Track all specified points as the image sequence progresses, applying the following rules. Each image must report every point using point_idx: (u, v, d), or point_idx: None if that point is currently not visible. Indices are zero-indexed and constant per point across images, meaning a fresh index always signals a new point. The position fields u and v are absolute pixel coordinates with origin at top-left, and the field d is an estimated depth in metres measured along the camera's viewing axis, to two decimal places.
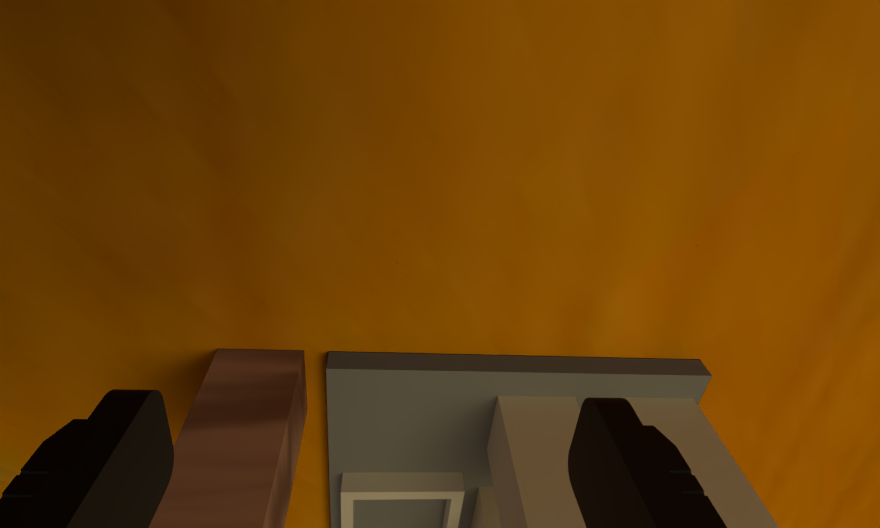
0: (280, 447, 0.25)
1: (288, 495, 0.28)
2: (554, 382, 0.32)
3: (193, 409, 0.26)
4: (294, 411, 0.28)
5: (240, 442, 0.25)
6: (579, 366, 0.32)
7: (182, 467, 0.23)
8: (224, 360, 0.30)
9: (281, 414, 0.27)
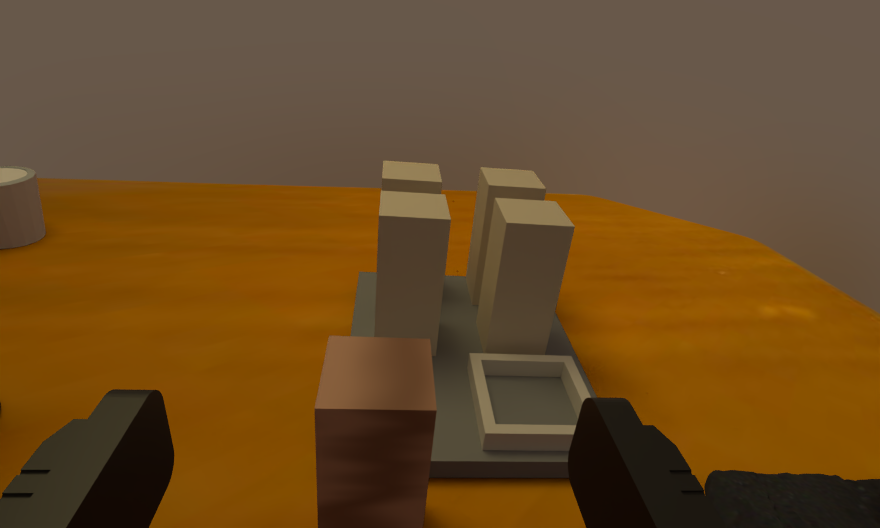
0: None
1: None
2: (361, 329, 0.44)
3: None
4: None
5: None
6: None
7: None
8: None
9: None
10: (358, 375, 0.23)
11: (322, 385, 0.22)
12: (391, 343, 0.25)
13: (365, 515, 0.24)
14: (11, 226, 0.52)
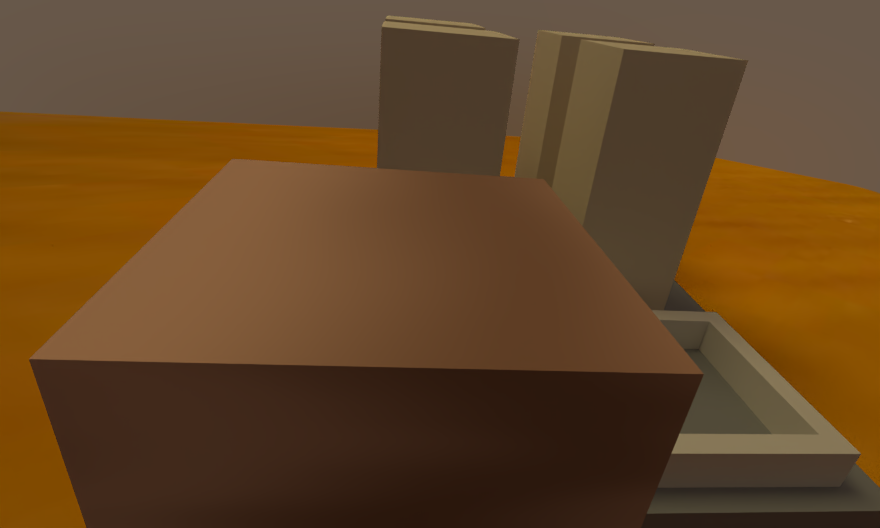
0: None
1: None
2: None
3: None
4: None
5: None
6: None
7: None
8: None
9: None
10: (312, 242, 0.06)
11: (137, 267, 0.05)
12: (430, 181, 0.08)
13: None
14: None
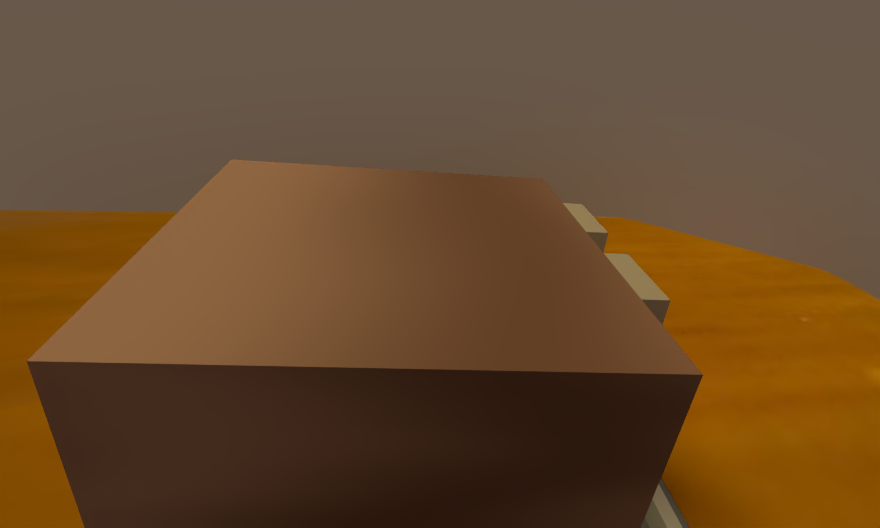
0: None
1: None
2: None
3: None
4: None
5: None
6: None
7: None
8: None
9: None
10: (311, 243, 0.06)
11: (136, 268, 0.05)
12: (429, 180, 0.08)
13: None
14: None
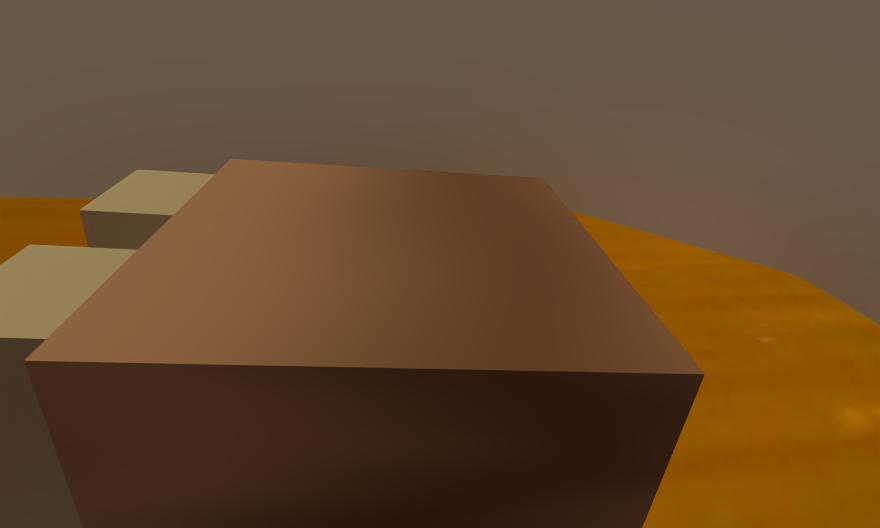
0: None
1: None
2: None
3: None
4: None
5: None
6: None
7: None
8: None
9: None
10: (310, 242, 0.06)
11: (134, 268, 0.05)
12: (429, 180, 0.08)
13: None
14: None
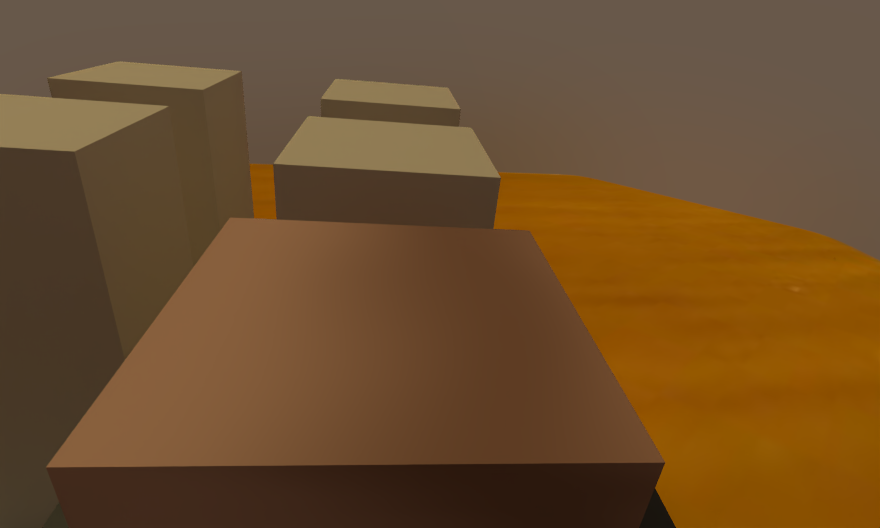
0: None
1: None
2: None
3: None
4: None
5: None
6: None
7: None
8: None
9: None
10: (305, 320, 0.06)
11: (141, 355, 0.05)
12: (420, 237, 0.08)
13: None
14: None
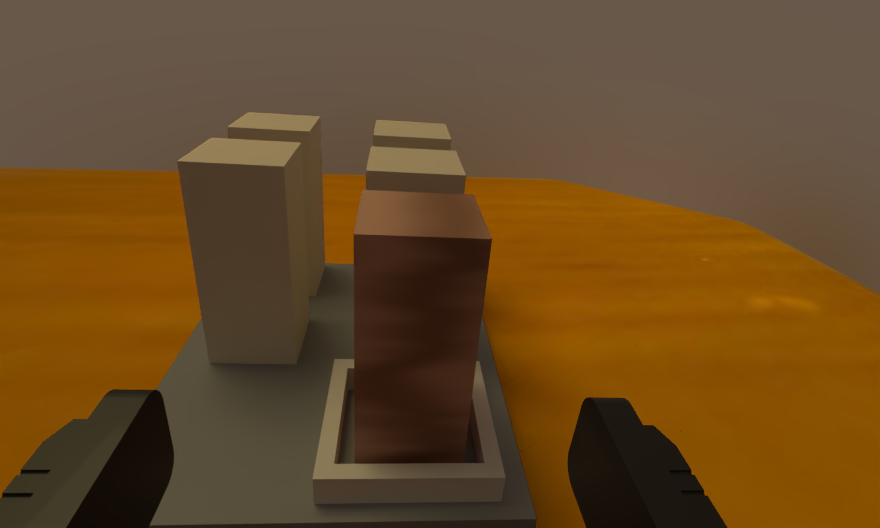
0: None
1: None
2: None
3: None
4: None
5: None
6: None
7: None
8: None
9: None
10: (399, 215, 0.20)
11: (359, 220, 0.19)
12: (431, 196, 0.23)
13: (407, 382, 0.21)
14: None
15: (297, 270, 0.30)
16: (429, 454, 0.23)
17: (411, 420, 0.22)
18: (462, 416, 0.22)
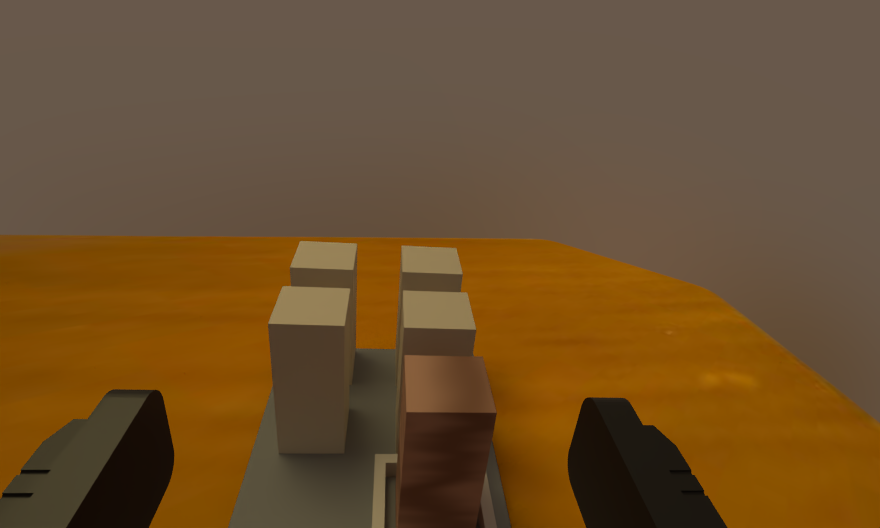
0: (400, 414, 0.34)
1: None
2: (271, 421, 0.42)
3: (399, 500, 0.31)
4: None
5: (400, 439, 0.33)
6: None
7: (402, 450, 0.30)
8: None
9: None
10: (433, 386, 0.30)
11: (408, 394, 0.29)
12: (453, 360, 0.32)
13: (436, 494, 0.31)
14: None
15: (346, 384, 0.39)
16: None
17: (437, 517, 0.32)
18: (473, 514, 0.32)
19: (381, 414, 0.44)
